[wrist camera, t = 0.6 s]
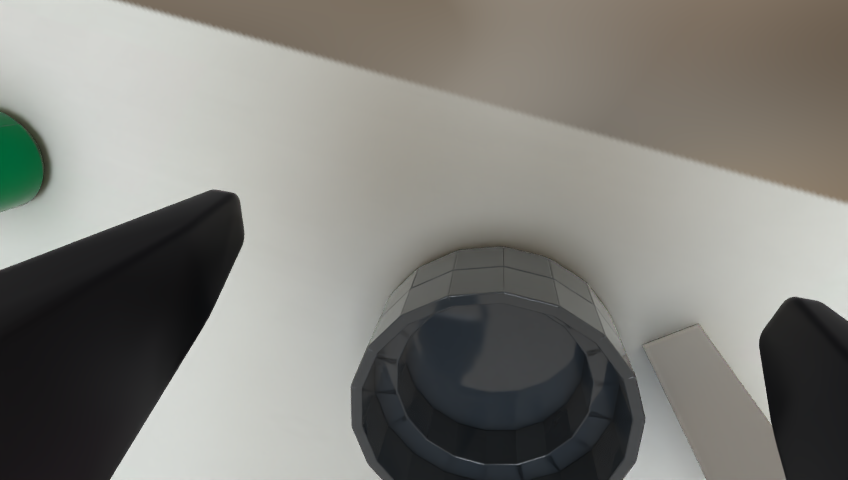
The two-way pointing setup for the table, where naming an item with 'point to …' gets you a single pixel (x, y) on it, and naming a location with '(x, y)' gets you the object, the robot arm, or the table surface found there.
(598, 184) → the table surface
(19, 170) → the soda can
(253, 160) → the table surface
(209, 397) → the table surface
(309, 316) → the table surface
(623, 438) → the grey ribbed bowl
